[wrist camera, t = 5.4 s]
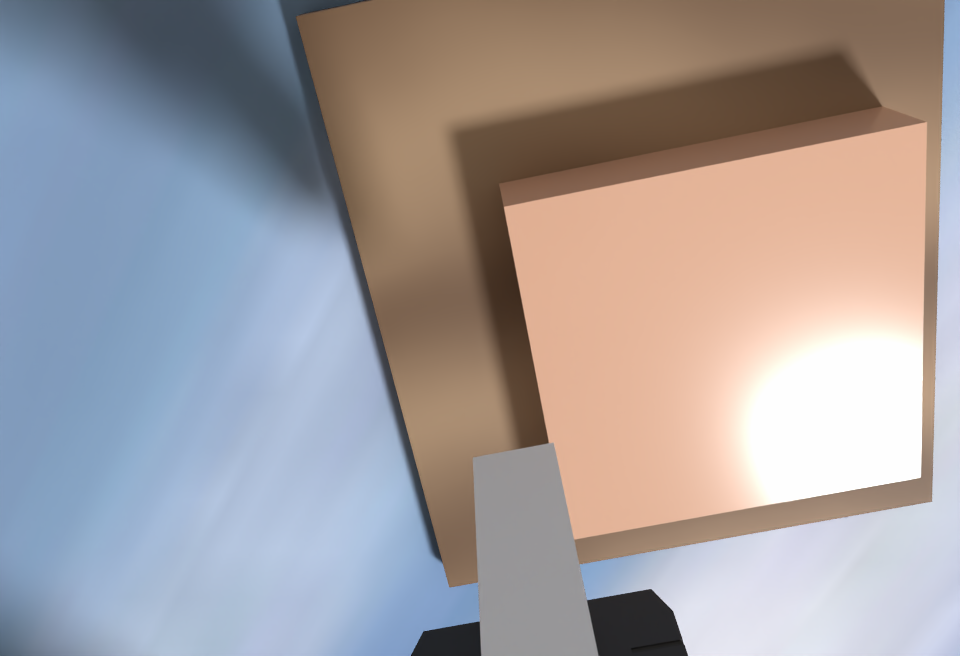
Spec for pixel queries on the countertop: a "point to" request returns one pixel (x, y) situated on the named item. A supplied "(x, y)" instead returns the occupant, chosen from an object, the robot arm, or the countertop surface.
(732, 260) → the tile
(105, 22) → the countertop surface
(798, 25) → the board
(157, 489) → the countertop surface
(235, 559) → the countertop surface
